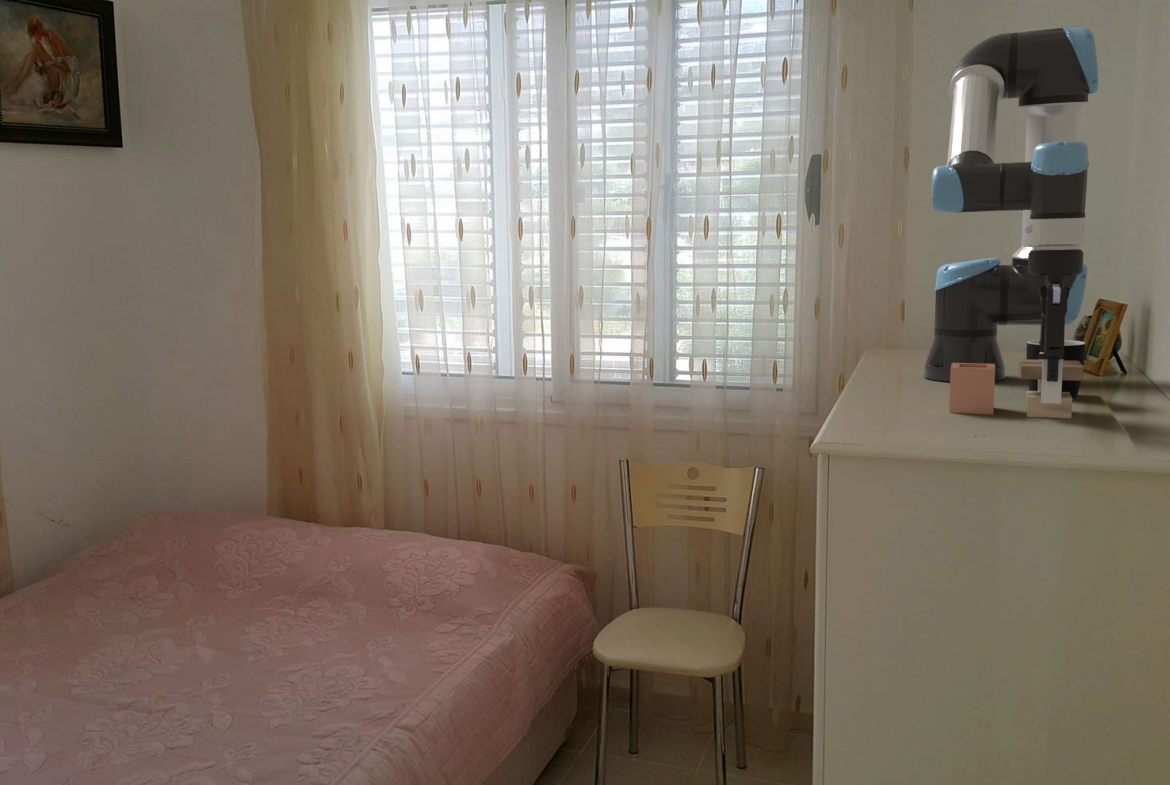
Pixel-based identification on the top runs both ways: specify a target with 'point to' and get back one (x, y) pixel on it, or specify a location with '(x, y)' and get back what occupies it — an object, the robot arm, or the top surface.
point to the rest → (1048, 406)
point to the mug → (1072, 352)
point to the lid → (1034, 370)
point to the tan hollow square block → (972, 388)
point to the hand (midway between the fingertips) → (1048, 398)
